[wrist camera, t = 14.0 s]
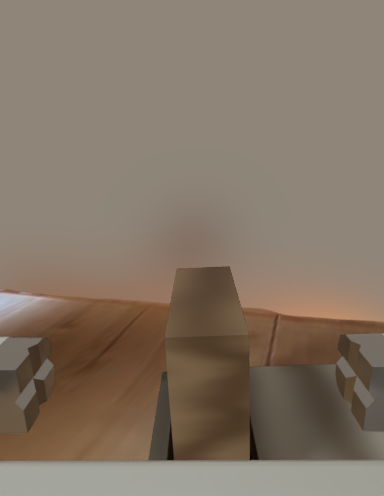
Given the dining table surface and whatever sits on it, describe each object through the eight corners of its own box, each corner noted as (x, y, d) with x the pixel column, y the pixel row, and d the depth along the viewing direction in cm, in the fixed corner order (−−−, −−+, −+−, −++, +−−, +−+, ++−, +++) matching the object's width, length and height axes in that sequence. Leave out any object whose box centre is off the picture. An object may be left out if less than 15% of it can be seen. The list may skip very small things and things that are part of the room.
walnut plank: (181, 551, 20) (164, 337, 16) (186, 421, 29) (176, 268, 26) (250, 550, 20) (249, 334, 16) (232, 419, 29) (229, 266, 25)
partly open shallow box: (135, 618, 17) (129, 576, 16) (165, 397, 32) (162, 370, 31) (508, 613, 16) (521, 569, 16) (357, 390, 32) (360, 363, 31)
